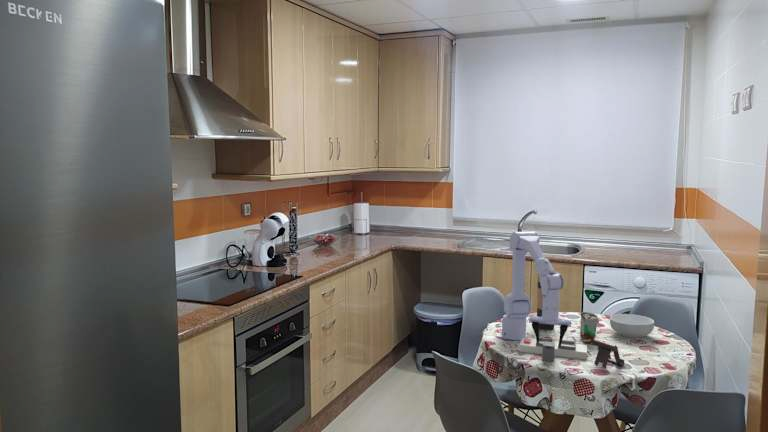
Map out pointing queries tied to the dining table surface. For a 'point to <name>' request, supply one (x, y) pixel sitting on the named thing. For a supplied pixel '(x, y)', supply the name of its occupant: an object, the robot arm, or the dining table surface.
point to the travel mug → (539, 310)
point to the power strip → (564, 350)
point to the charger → (548, 351)
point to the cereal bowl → (631, 325)
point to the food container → (588, 327)
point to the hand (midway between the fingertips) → (548, 343)
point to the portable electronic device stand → (607, 354)
